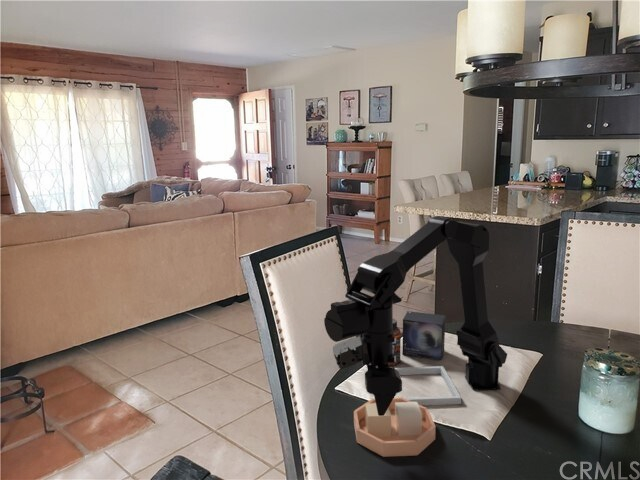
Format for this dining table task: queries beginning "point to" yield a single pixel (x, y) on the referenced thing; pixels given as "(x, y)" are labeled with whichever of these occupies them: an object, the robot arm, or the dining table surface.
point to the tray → (433, 400)
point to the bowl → (394, 433)
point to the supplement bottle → (396, 343)
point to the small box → (424, 335)
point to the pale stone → (408, 418)
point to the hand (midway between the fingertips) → (377, 401)
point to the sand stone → (377, 421)
